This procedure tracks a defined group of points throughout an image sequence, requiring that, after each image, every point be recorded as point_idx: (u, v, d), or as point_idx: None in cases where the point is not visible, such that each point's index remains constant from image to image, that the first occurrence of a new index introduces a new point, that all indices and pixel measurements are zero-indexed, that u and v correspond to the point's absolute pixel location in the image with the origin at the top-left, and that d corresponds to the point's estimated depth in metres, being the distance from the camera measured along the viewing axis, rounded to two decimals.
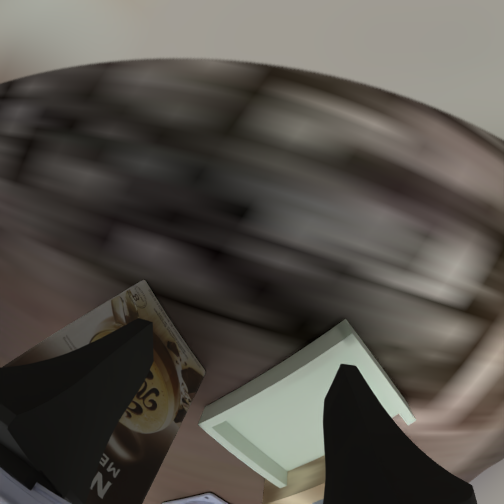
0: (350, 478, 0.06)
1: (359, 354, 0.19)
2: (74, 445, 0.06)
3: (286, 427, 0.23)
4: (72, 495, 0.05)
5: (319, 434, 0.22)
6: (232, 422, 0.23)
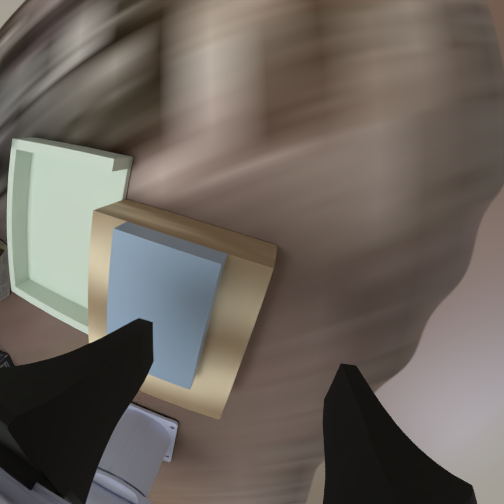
0: (350, 478, 0.06)
1: (23, 146, 0.17)
2: (74, 445, 0.06)
3: (61, 258, 0.22)
4: (72, 495, 0.05)
5: (84, 249, 0.21)
6: (39, 281, 0.23)
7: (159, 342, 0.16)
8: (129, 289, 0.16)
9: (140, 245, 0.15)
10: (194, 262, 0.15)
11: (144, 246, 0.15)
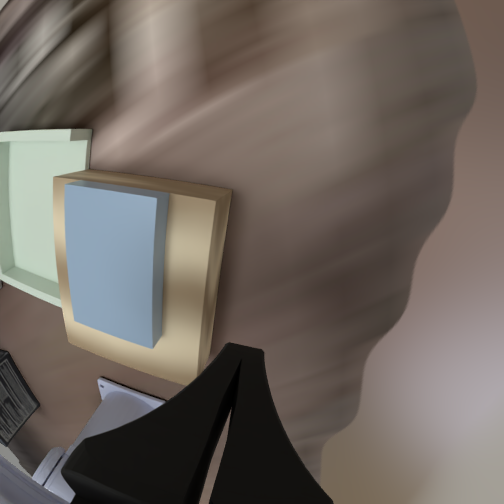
0: None
1: None
2: (197, 494, 0.05)
3: (40, 239, 0.22)
4: None
5: None
6: (23, 267, 0.23)
7: (115, 296, 0.16)
8: (82, 243, 0.15)
9: (87, 195, 0.14)
10: (133, 201, 0.14)
11: (90, 195, 0.14)
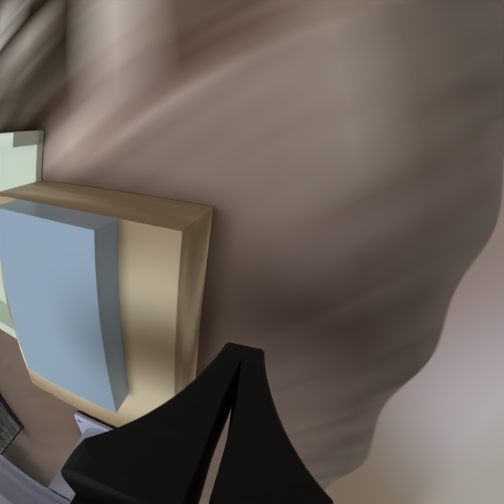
0: None
1: None
2: (197, 494, 0.05)
3: None
4: None
5: None
6: None
7: (64, 351, 0.11)
8: (19, 283, 0.10)
9: (16, 222, 0.09)
10: (65, 233, 0.09)
11: (19, 222, 0.09)
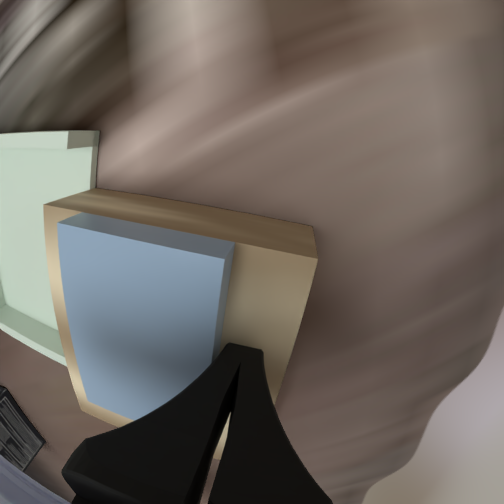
0: None
1: None
2: (198, 494, 0.05)
3: (33, 277, 0.16)
4: None
5: None
6: (16, 306, 0.18)
7: (148, 385, 0.11)
8: (93, 313, 0.10)
9: (94, 243, 0.09)
10: (179, 261, 0.08)
11: (100, 244, 0.09)
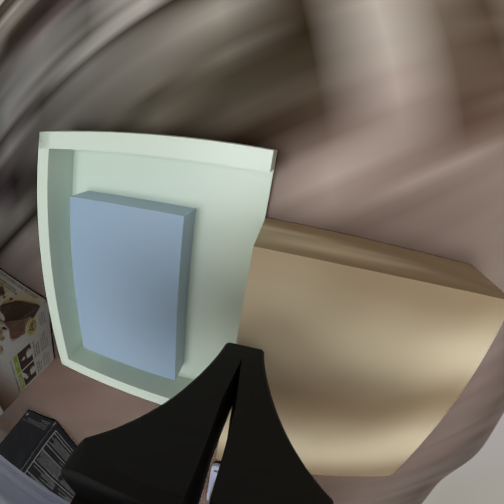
0: None
1: (61, 141, 0.11)
2: (197, 494, 0.05)
3: None
4: None
5: (190, 300, 0.15)
6: None
7: None
8: None
9: None
10: None
11: None
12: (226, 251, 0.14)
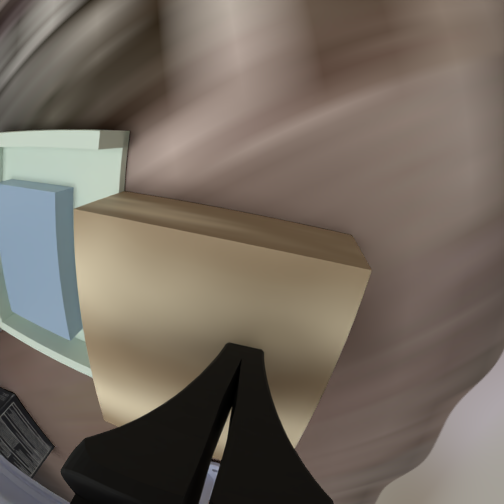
0: None
1: None
2: (197, 494, 0.05)
3: None
4: None
5: None
6: None
7: None
8: None
9: None
10: None
11: None
12: None
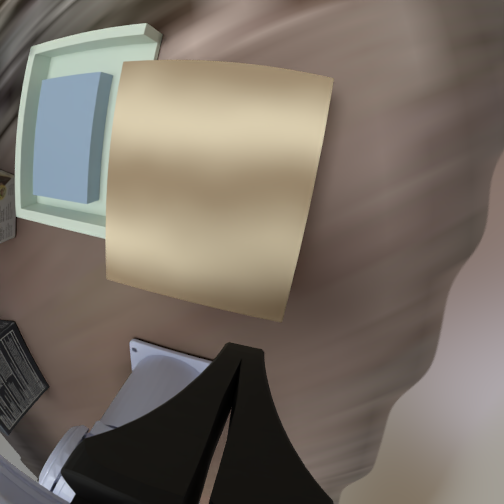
0: None
1: (42, 48, 0.14)
2: (197, 493, 0.05)
3: None
4: None
5: (105, 139, 0.18)
6: (48, 201, 0.20)
7: None
8: None
9: None
10: None
11: None
12: None
